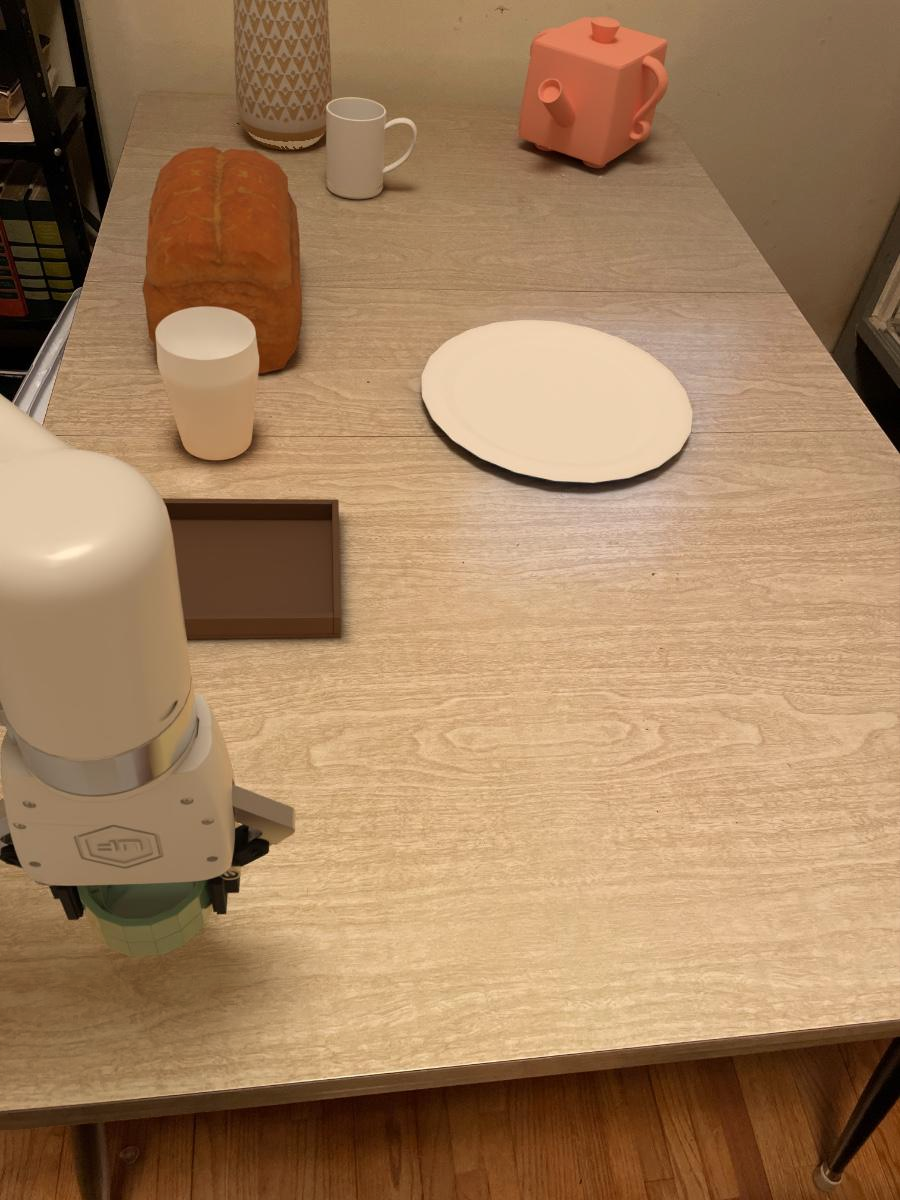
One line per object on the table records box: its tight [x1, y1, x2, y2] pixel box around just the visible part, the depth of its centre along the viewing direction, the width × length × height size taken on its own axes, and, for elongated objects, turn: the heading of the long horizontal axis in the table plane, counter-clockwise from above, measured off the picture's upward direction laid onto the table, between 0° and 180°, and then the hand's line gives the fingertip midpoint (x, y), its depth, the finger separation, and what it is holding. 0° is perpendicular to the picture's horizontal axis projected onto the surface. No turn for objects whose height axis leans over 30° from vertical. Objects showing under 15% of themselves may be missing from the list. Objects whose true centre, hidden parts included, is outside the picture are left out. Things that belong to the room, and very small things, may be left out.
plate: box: [420, 319, 694, 485], centre depth 103 cm, size 29×29×2 cm
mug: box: [325, 96, 418, 200], centre depth 131 cm, size 12×8×10 cm, turn 88°
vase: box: [232, 0, 333, 151], centre depth 133 cm, size 14×14×31 cm
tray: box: [162, 497, 342, 640], centre depth 81 cm, size 17×14×2 cm
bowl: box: [77, 879, 213, 958], centre depth 54 cm, size 7×7×4 cm
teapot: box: [518, 16, 669, 169], centre depth 143 cm, size 25×23×18 cm
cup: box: [155, 306, 259, 461], centre depth 90 cm, size 9×9×12 cm
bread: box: [141, 146, 303, 374], centre depth 105 cm, size 16×27×16 cm, turn 8°
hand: (151, 891), depth 55 cm, fingers closed on bowl, 7 cm apart
